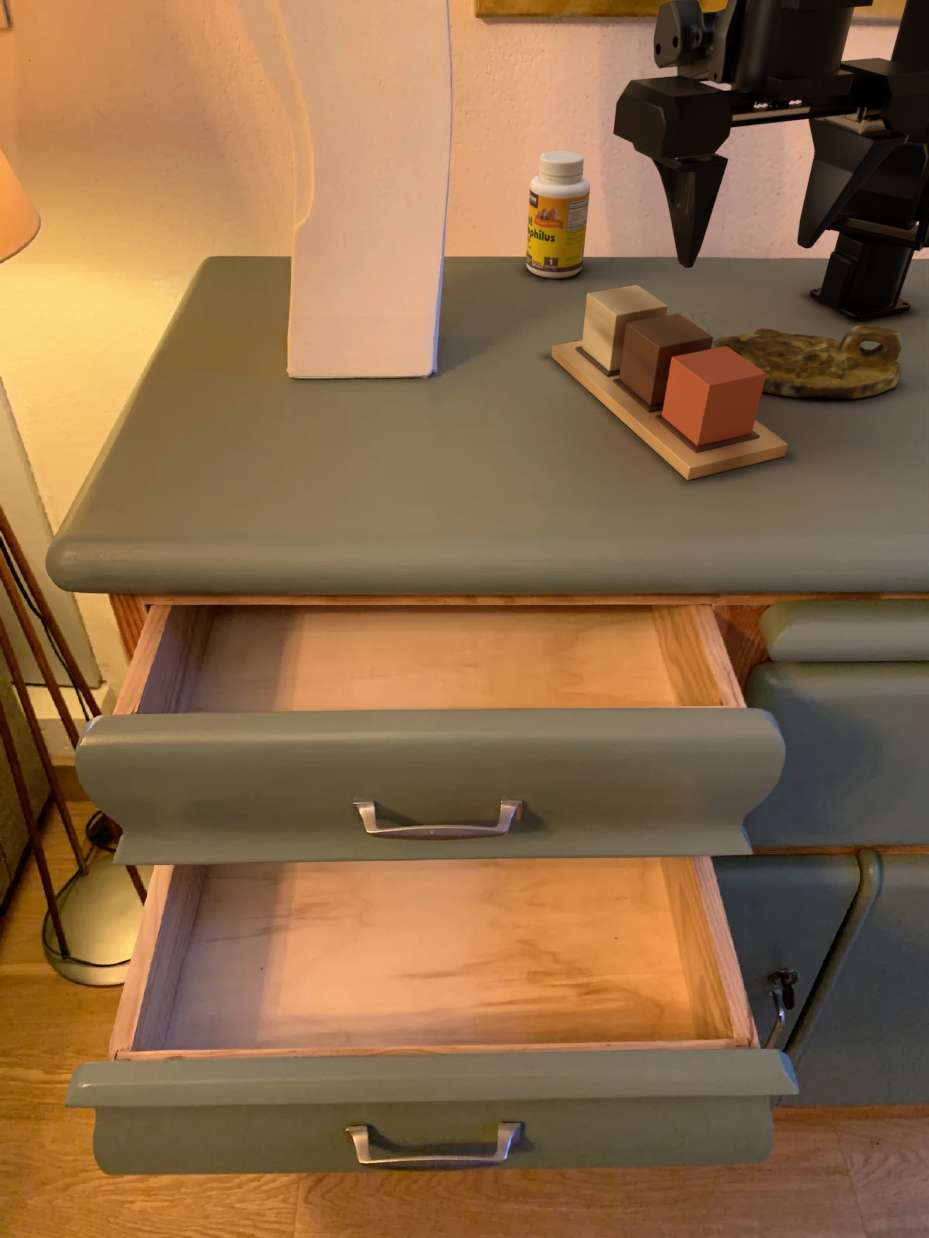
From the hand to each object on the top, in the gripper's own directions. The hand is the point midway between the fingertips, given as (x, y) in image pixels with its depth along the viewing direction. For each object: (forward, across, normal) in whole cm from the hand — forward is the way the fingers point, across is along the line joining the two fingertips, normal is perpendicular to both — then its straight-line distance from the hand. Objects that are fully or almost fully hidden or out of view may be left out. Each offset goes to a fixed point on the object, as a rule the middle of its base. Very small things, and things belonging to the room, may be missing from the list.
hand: (745, 256), depth 57 cm
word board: (+12, +2, -4) cm, 13 cm away
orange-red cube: (+11, +2, +2) cm, 11 cm away
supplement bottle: (+12, -3, -31) cm, 33 cm away
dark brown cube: (+11, +2, -4) cm, 12 cm away
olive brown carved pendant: (+12, -11, -4) cm, 17 cm away
